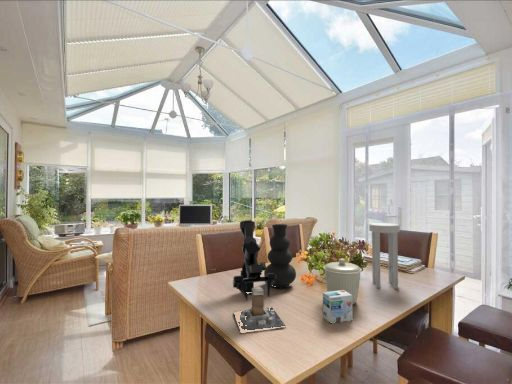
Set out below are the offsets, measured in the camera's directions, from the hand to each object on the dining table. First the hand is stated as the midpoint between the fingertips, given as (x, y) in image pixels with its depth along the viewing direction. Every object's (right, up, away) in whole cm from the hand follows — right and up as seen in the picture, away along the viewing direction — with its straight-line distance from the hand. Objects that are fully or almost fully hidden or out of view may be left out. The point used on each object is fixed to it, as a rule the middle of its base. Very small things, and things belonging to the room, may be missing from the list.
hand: (257, 299), depth 113 cm
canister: (+42, -9, +20) cm, 47 cm away
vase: (+13, -10, +44) cm, 47 cm away
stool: (+74, -9, +44) cm, 86 cm away
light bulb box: (+34, -9, +1) cm, 35 cm away
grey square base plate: (0, -9, 0) cm, 9 cm away
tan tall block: (0, -8, 0) cm, 8 cm away
